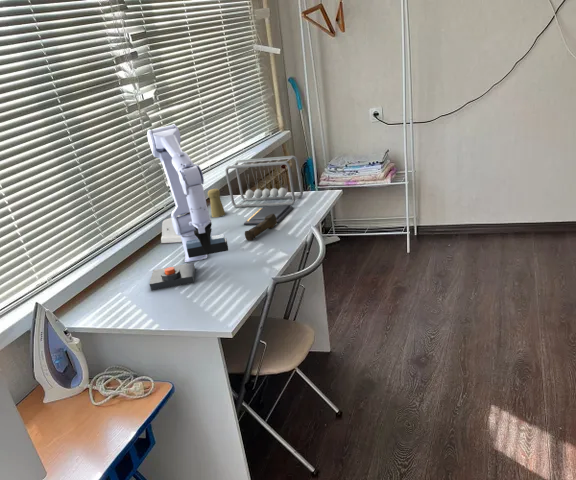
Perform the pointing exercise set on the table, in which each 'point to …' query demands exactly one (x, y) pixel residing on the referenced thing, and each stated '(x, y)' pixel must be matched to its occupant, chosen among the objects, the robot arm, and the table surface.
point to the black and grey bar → (216, 246)
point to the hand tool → (261, 227)
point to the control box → (172, 277)
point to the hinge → (169, 232)
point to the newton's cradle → (265, 192)
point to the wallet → (265, 211)
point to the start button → (169, 270)
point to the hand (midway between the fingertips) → (207, 248)
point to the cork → (216, 203)
